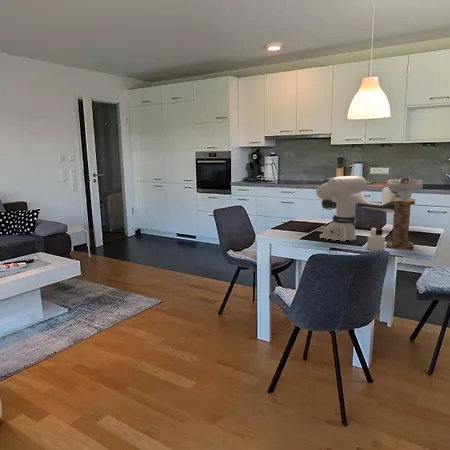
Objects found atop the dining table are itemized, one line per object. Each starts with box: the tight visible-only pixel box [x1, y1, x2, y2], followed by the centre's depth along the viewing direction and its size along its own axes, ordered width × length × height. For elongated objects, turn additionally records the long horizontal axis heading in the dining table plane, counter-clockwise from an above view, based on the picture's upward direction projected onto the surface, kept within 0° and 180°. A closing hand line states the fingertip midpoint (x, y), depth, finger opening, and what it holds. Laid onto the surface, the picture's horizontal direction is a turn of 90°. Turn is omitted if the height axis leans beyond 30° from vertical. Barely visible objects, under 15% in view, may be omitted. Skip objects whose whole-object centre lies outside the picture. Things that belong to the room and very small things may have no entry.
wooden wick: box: [400, 177, 410, 183], centre depth 233 cm, size 4×16×3 cm, turn 155°
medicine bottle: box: [366, 227, 386, 252], centre depth 215 cm, size 7×7×12 cm
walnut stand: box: [385, 198, 416, 251], centre depth 218 cm, size 14×12×27 cm
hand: (405, 179), depth 237 cm, fingers closed on wooden wick, 2 cm apart
